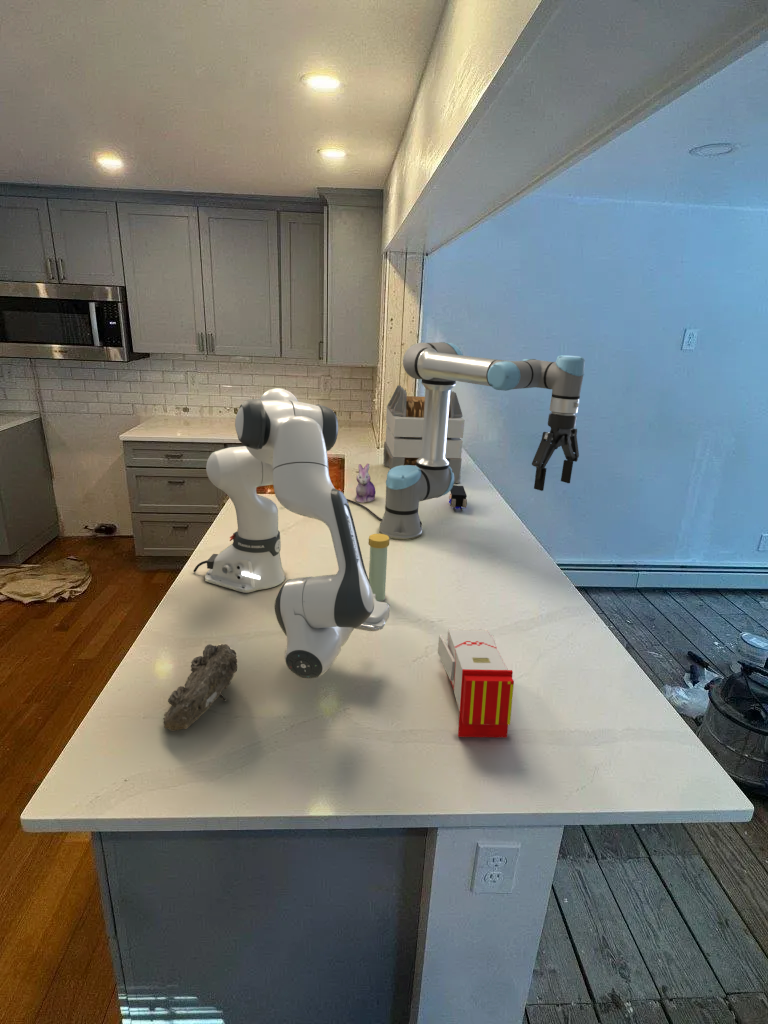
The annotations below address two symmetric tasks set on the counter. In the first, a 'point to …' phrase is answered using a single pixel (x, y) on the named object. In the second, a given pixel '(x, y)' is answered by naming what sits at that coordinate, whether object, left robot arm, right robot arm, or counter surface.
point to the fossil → (201, 686)
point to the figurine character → (458, 497)
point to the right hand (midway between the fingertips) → (552, 485)
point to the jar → (378, 571)
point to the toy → (478, 682)
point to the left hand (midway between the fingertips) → (352, 593)
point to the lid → (378, 540)
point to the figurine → (364, 486)
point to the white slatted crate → (419, 431)
